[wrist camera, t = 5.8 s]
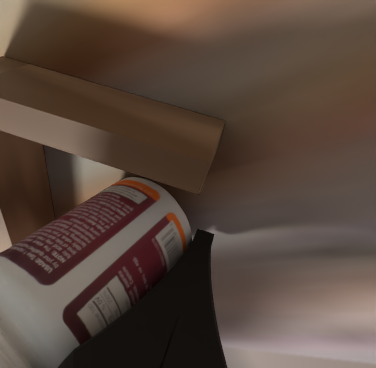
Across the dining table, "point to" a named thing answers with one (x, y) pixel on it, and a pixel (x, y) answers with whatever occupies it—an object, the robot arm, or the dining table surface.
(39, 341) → the pill bottle
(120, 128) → the walnut corral
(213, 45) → the dining table surface
